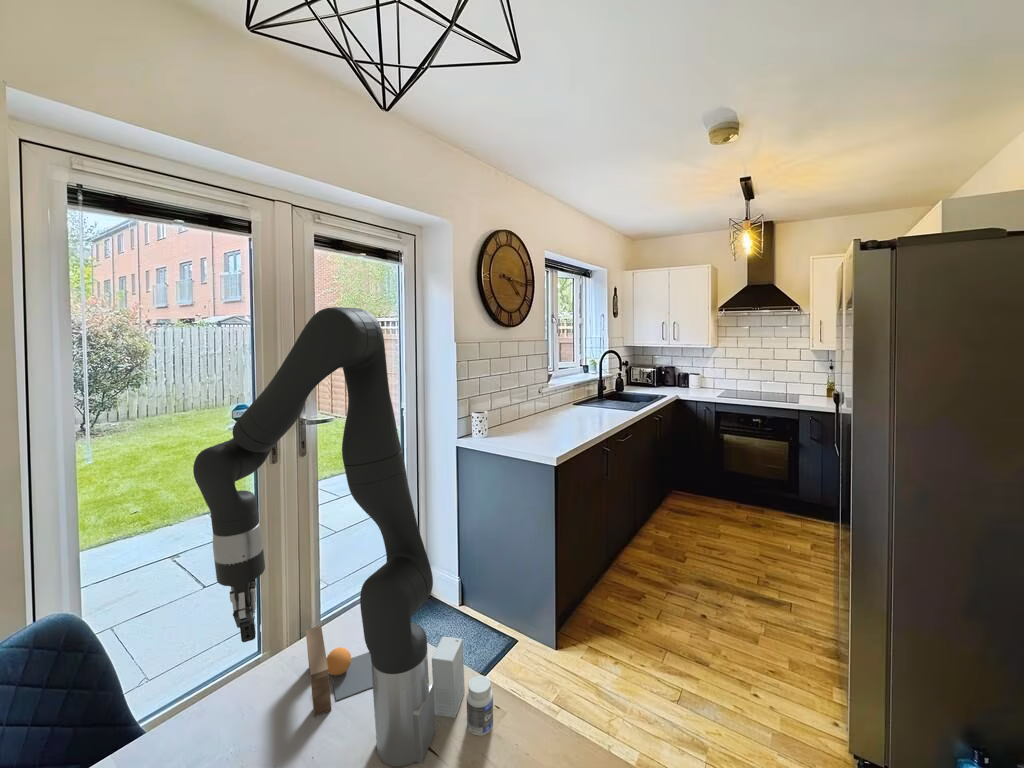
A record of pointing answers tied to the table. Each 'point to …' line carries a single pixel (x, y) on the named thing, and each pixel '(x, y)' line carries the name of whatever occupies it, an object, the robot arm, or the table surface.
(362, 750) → the table surface
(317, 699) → the bridge
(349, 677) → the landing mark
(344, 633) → the table surface
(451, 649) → the skincare box
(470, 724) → the pill bottle
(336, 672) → the ball
